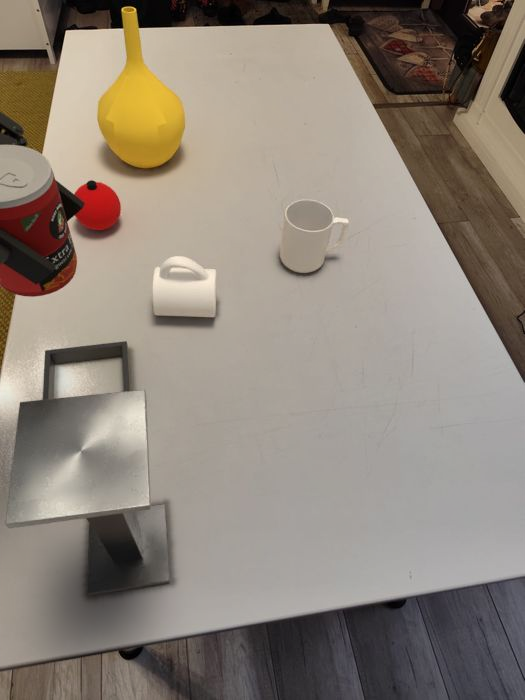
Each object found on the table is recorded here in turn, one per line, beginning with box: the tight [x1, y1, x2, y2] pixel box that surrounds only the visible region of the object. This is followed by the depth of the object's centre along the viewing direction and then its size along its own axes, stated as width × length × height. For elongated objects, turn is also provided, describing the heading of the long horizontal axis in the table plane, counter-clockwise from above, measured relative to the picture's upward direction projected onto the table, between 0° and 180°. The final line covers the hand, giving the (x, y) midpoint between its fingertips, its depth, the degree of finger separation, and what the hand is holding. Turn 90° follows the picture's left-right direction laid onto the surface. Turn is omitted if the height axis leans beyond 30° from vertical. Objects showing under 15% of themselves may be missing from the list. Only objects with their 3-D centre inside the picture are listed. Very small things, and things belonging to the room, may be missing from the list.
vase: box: [96, 6, 186, 169], centre depth 106 cm, size 18×18×30 cm
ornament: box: [73, 179, 122, 231], centre depth 100 cm, size 9×9×10 cm
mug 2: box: [279, 198, 350, 274], centre depth 98 cm, size 12×9×11 cm
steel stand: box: [4, 389, 171, 596], centre depth 56 cm, size 11×11×30 cm
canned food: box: [0, 145, 78, 298], centre depth 46 cm, size 8×8×11 cm
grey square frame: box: [42, 340, 133, 400], centre depth 81 cm, size 13×13×3 cm
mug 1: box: [151, 255, 218, 318], centre depth 88 cm, size 8×10×12 cm
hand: (61, 242), depth 47 cm, fingers closed on canned food, 8 cm apart
